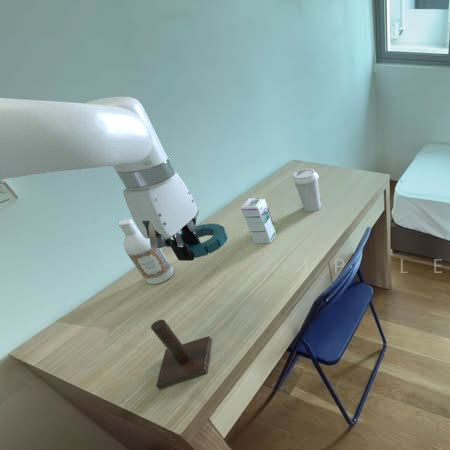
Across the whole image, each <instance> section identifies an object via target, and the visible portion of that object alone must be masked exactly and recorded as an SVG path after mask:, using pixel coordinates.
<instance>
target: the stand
mask: <svg viewBox="0 0 450 450" xmlns="http://www.w3.org/2000/svg"><path fill="white" fill-rule="evenodd" d="M150 329H151V331H152V332H153V333H154V335H156V337H157V338H158V340H160V342H161V343H162V344H163V346H164V347H165V348H166V349H165V350H164V353H163V358H162V362H161V365H160V369H159V374H158V377H157V381H156V384H155V387H156V388H157V389H158V390H162V389H163V390H164V389H166V388H169V387H172V386H173V385H177V384H180V383H183V382H186V381H189V380H192V379H195V378H198V377H200V376H204V375H206V374H208V372H209V365H210V355H211V347H212V338H211V336H210V335H207V336H205V337H201V338H199V339H195V340H192V341H188V342H186V343H182V342H181V341H180V339H179V338H178V336H177V335H176V333H174V331H173V330H172V328H171V327H170V326H169V324H168V323H167V321H166V320H165V319H158V320H156V321H154V322H153V323H152V324H151V325H150Z"/></svg>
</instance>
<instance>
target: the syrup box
mask: <svg viewBox="0 0 450 450" xmlns="http://www.w3.org/2000/svg"><path fill="white" fill-rule="evenodd" d="M240 211H241V213H242V215H243V218H244V220H245V222H246V226H247V228H248V230H249V232H250V235H251V237H252V240H253V242H254V244H272V242H273V240H274V239H275V237H276V235H277V233H278V231H277V229H276V226H275V223H274V221H273V218H272V214H271V213H270V210H269V206H268V204H267V201H266V198H264V197H252V198H247V200H246V201H245V202H244V203H243V205H241V207H240Z"/></svg>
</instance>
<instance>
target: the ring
mask: <svg viewBox="0 0 450 450" xmlns="http://www.w3.org/2000/svg"><path fill="white" fill-rule="evenodd" d="M196 228H197V233H196V234H197V236H198V238H199V239H200V238H203V237H206V236H211V237H210V238H209V239H207V240H205V241H203V242H201V243H200V244H196V245H188V246H189V248H190V250H191V252H192V253H193V255H194V259H197V258H201V257H204V256H208V255H209V254H212V253H214V252H216V251H217V250H219V249H221V248H222V247H223V246H224V245H225V244H226V242H228V233H227V230H226V228H225V227H224V226H223V225H221V224H219V223H203V224H199V225H196ZM179 234H180V235H181V234H182V233H181V232H179Z"/></svg>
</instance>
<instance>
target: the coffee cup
mask: <svg viewBox="0 0 450 450" xmlns="http://www.w3.org/2000/svg"><path fill="white" fill-rule="evenodd" d="M319 178H320V177H319V174H318V172H316V170H315V169H314V168H301V169H298V170H296V171H294V172H293V174H292V178H291V181H292V182H293V184H294V186H295V188H296V191H297V194H298V196H299V199H300V202H301V205H302V207H303V210H304V211H305V212H307V213H312V212H313V213H314V212H317V211H320V209H321V207H322V206H321V195H320V190H319V189H320V188H319V180H318V179H319Z"/></svg>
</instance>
